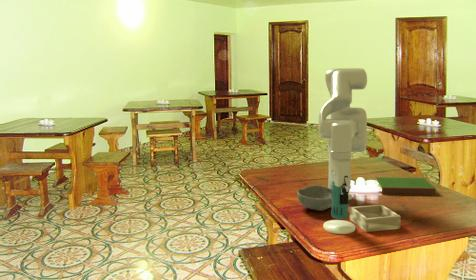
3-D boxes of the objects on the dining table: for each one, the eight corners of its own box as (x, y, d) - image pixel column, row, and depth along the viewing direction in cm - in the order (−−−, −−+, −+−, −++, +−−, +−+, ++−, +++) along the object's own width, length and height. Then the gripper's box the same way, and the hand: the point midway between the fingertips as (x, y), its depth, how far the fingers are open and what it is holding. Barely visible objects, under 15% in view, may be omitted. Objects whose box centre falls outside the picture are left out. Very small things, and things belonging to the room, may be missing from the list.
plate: (318, 223, 168) (318, 221, 168) (347, 221, 170) (347, 218, 170) (330, 235, 157) (330, 232, 156) (360, 232, 159) (361, 230, 159)
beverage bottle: (345, 216, 166) (346, 167, 163) (350, 222, 160) (351, 171, 156) (328, 217, 166) (329, 167, 163) (333, 223, 160) (334, 171, 156)
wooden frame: (349, 219, 173) (349, 207, 172) (381, 216, 175) (381, 204, 174) (365, 232, 159) (366, 219, 158) (400, 228, 162) (400, 216, 161)
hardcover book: (381, 195, 204) (382, 187, 203) (375, 184, 222) (375, 177, 222) (436, 196, 200) (437, 188, 200) (425, 185, 219) (425, 178, 218)
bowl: (310, 218, 174) (310, 199, 173) (289, 205, 190) (289, 188, 189) (346, 211, 181) (347, 193, 180) (323, 200, 197) (323, 183, 196)
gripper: (322, 151, 166) (321, 195, 169) (340, 160, 149) (339, 209, 153) (340, 150, 167) (339, 193, 171) (360, 159, 151) (359, 207, 154)
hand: (339, 200), depth 162 cm, fingers closed on beverage bottle, 6 cm apart
